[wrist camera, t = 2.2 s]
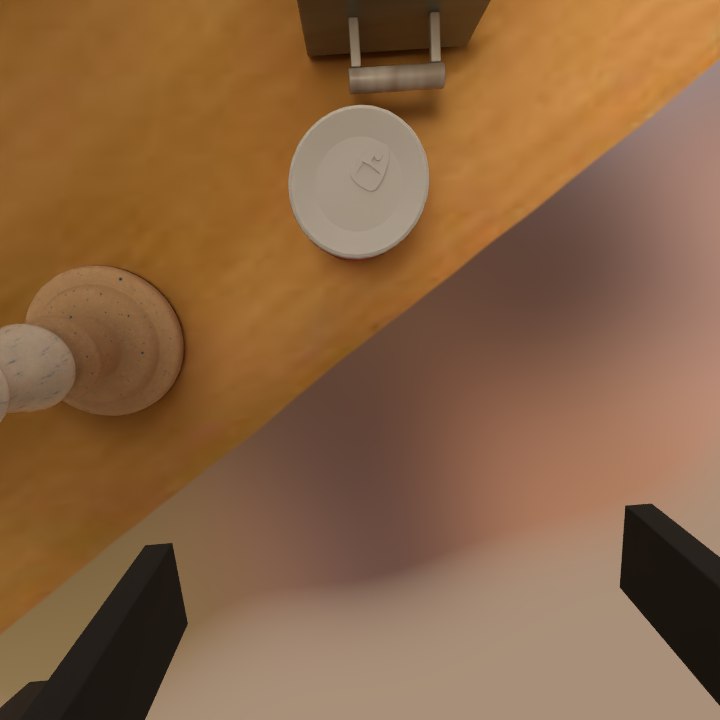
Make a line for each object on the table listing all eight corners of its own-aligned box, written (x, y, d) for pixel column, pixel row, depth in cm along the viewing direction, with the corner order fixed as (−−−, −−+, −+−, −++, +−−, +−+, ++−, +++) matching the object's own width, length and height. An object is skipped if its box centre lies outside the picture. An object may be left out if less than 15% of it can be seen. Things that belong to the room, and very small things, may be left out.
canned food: (418, 174, 33) (451, 130, 23) (385, 274, 35) (402, 277, 24) (323, 141, 33) (311, 79, 22) (294, 244, 34) (270, 234, 23)
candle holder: (208, 386, 36) (46, 527, 17) (75, 430, 37) (-234, 616, 17) (148, 244, 34) (-128, 215, 14) (6, 293, 34) (-451, 331, 15)
